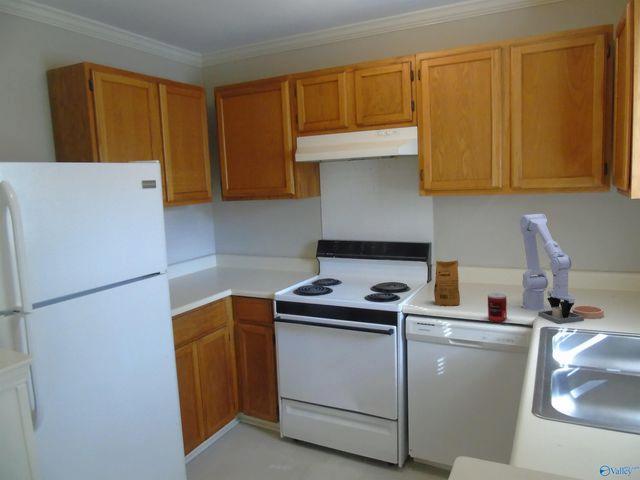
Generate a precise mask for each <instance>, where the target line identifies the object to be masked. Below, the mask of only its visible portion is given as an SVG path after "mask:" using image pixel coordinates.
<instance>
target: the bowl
mask: <svg viewBox="0 0 640 480" xmlns="http://www.w3.org/2000/svg"><path fill="white" fill-rule="evenodd" d="M571 312H573V313H576V314H578V315H581V316H584V320H585V319H586V320H588V319H589V320H597V319H602V318H604V316H605V314H604V313H605V312H604V309H603V308H601V307H597V306H592V305H577V306H576V305H575V306H572V308H571Z"/></svg>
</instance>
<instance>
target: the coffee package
mask: <svg viewBox="0 0 640 480" xmlns="http://www.w3.org/2000/svg"><path fill="white" fill-rule="evenodd" d="M458 267H459V260H450V261H442V260H436V261H435V283H434V289H433V293H434V296H433V297H434V304H435V305H436V306H437V305H440V306H446V305H448V306H447V307H452V306H451V305H454V306H460V303H461V295H460V290H459V268H458ZM449 305H450V306H449Z"/></svg>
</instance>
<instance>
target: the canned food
mask: <svg viewBox="0 0 640 480" xmlns="http://www.w3.org/2000/svg"><path fill="white" fill-rule="evenodd" d="M507 303H508V302H507V294H505V293H501V292H491V293H489V294H487V318H488V320H490V321H491V322H495V323H501V322H502V323H503V322H506V320H507V319H508V317H507V315H508V314H507V313H508V312H507V310H508V307H507Z"/></svg>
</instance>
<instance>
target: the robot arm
mask: <svg viewBox="0 0 640 480" xmlns="http://www.w3.org/2000/svg"><path fill="white" fill-rule="evenodd" d="M519 225H520V231H521V234H522V236H523V244H524V250H525V251H524V252H525V259H526V266H527V269H526V271H524V272H523V274H522V286H523V288H524V290H523V291H522V305H521V306H520V307H521V308H523V309H527V310H530V311H531V312H532V311H533V312H536V311H547V310H548V308H547V307H545V291H546V289H547V288H548V286H549V280H548V277H547V273H546V272H545V271H544V270H543V269H542V268H541V266H540V265H541V264H540V258H539V251H538V244H537V243H538V242H537V238H536V237H537V236H536V235H537V234H538V236H539V237H540V238H541V240H542V242H543V243H544V247H543V249H544V250H545V252H546V254H547V256H548V258H549V260H550V262H549V267H550V268H551V273H552V290H548V291H547V296H548V297H547V298H546V299H547V301H548V303H549V304H550V307H551V309H552V307H560V306H561V308H562V316H563V318H568V316H569V313H570V312H571V311H572V308H573V307H574V305H575V300H576V299H575V297H572V296H571V295H570V294H569V270H571V268H572V259H571V258H570V256H569V255H567V254H566V253H564V252H563V250H562V248H561V246H560V245H559V243H558V242H557V241H556V240H555V241H554V239H553V238H552V235H551V232H550V229H549V228H548V219H547V217H546V215H545V214H544V213H536V214H535V213H533V214H523V215H522V216H521V217H520V219H519Z"/></svg>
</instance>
